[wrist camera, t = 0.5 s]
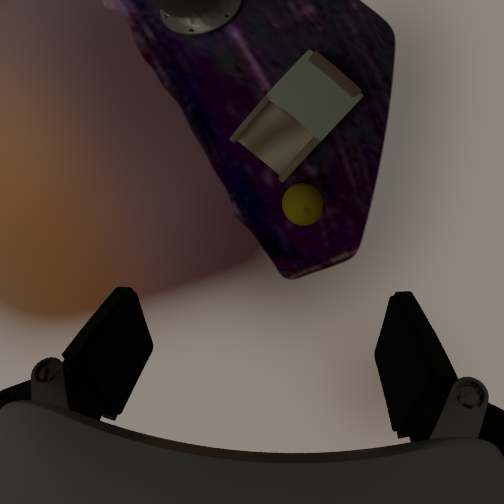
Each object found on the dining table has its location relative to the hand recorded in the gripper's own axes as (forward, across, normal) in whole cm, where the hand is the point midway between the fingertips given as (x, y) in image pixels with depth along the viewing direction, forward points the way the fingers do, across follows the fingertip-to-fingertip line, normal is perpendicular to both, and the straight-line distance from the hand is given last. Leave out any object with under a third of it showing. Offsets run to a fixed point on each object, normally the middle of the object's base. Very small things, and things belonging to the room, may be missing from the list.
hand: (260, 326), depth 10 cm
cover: (+29, -5, -11) cm, 31 cm away
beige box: (+33, -2, -8) cm, 34 cm away
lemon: (+34, -3, +4) cm, 34 cm away
